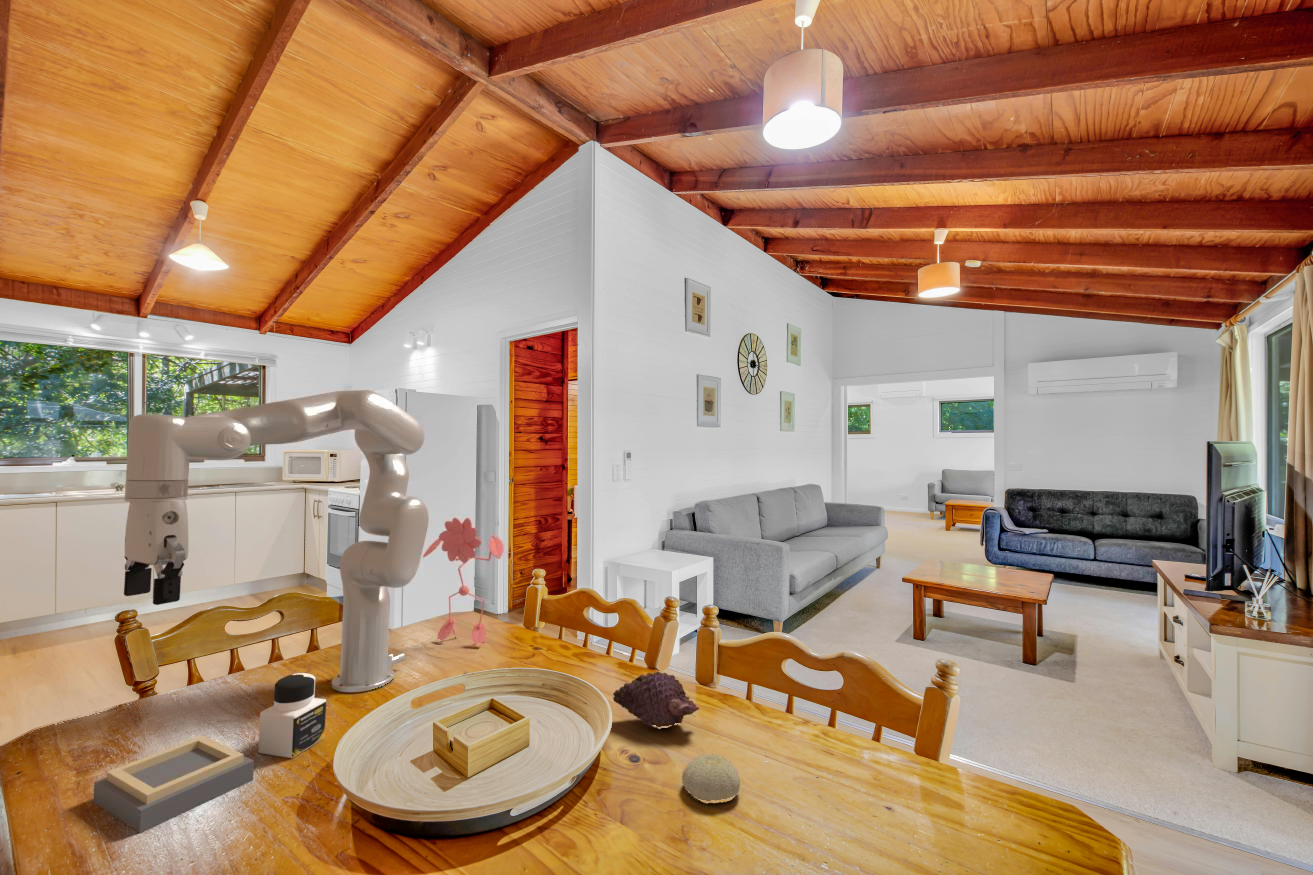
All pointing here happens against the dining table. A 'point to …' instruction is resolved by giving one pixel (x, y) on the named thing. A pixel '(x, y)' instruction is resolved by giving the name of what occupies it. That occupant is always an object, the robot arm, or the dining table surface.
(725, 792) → the sea urchin shell
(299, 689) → the medicine bottle
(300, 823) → the dining table surface
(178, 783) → the pedestal
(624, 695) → the purple conch shell
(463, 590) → the flower headed figure
